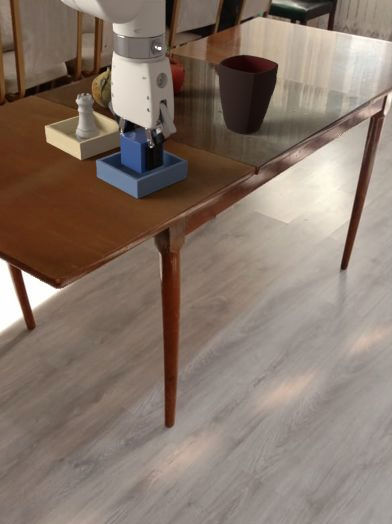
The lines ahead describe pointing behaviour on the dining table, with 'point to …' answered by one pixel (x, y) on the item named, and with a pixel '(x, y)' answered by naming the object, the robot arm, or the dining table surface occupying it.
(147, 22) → the robot arm
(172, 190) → the dining table surface
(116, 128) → the ivory tray
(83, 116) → the rook chess piece
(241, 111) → the cup
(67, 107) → the dining table surface
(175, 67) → the apple
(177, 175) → the blue tray
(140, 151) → the blue block
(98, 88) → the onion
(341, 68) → the dining table surface
